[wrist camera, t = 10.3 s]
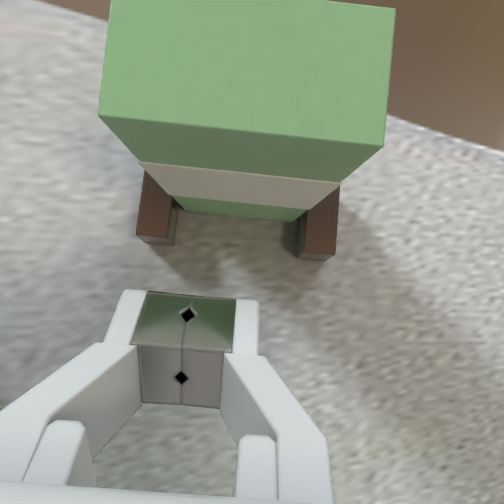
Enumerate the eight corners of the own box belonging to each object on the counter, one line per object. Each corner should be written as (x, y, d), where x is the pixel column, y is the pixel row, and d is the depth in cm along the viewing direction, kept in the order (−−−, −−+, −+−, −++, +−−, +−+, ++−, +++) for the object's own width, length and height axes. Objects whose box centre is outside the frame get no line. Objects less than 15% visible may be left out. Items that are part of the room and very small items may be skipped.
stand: (325, 261, 25) (335, 255, 23) (144, 243, 25) (135, 234, 23) (330, 191, 26) (340, 178, 23) (154, 173, 26) (146, 157, 23)
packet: (386, 149, 10) (399, 5, 10) (94, 118, 9) (110, -29, 10) (293, 223, 26) (298, 168, 26) (184, 212, 25) (190, 157, 25)
